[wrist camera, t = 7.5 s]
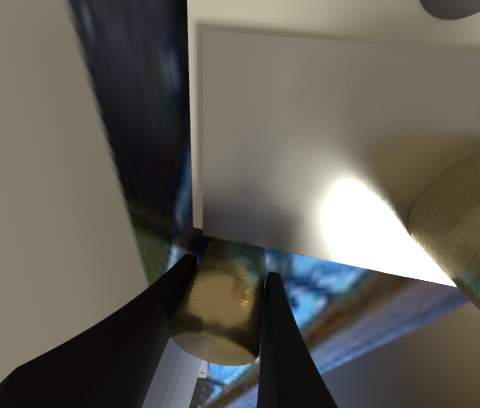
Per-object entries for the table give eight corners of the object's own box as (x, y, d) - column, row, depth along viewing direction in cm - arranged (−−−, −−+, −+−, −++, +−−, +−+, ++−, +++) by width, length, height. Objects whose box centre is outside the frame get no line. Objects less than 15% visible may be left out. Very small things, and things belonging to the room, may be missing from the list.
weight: (260, 283, 13) (252, 374, 9) (206, 271, 13) (171, 351, 9) (271, 240, 11) (267, 329, 7) (206, 227, 11) (163, 303, 7)
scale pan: (481, 281, 7) (496, 294, 7) (207, 227, 9) (202, 235, 8) (711, 81, 4) (774, 78, 4) (210, 37, 5) (203, 30, 5)
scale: (454, 253, 9) (499, 290, 7) (207, 207, 11) (191, 229, 9) (745, -59, 4) (1105, -184, 2) (211, -72, 6) (179, -160, 4)
